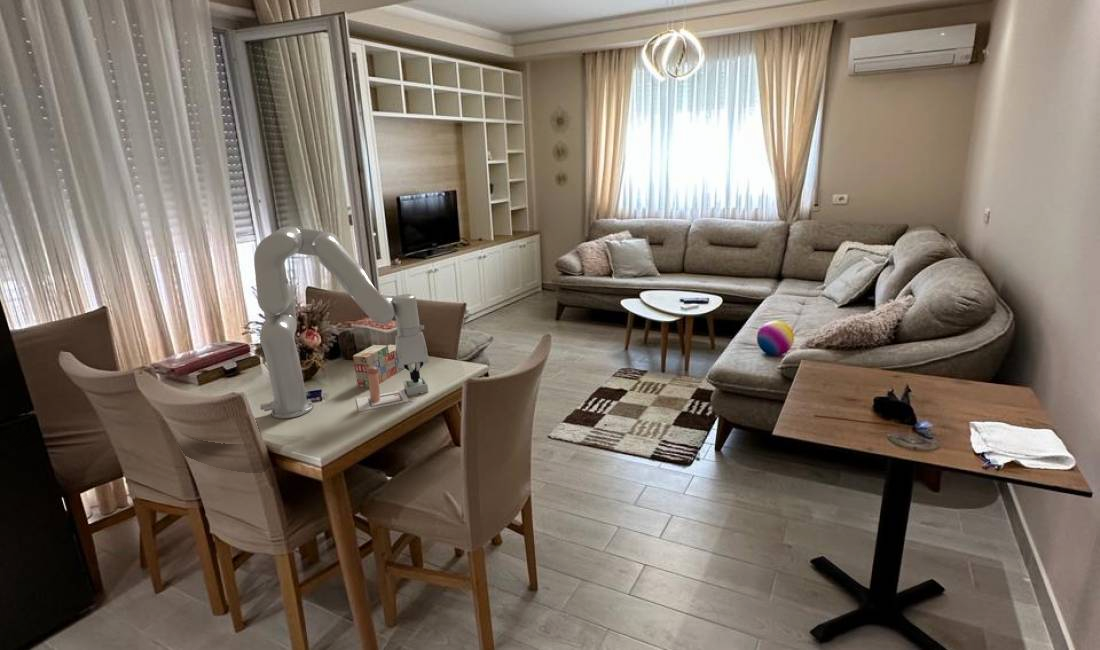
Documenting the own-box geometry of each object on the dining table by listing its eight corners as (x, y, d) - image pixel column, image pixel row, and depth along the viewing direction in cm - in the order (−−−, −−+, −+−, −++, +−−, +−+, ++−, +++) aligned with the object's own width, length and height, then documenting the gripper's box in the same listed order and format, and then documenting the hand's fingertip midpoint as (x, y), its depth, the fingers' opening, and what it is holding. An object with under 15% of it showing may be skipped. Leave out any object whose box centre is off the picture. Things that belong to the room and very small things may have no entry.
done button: (410, 392, 197) (409, 384, 197) (408, 388, 202) (407, 380, 201) (424, 390, 199) (423, 382, 198) (421, 385, 203) (420, 377, 203)
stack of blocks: (392, 366, 226) (388, 336, 223) (406, 367, 224) (402, 337, 220) (357, 387, 207) (352, 355, 203) (372, 389, 205) (366, 356, 201)
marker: (370, 402, 191) (367, 370, 188) (369, 399, 194) (366, 367, 191) (381, 401, 192) (378, 369, 189) (379, 397, 195) (377, 365, 192)
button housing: (407, 396, 196) (406, 387, 195) (404, 389, 202) (403, 381, 202) (428, 392, 199) (427, 384, 198) (424, 385, 205) (423, 377, 204)
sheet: (358, 411, 186) (358, 410, 186) (356, 399, 196) (356, 398, 196) (408, 401, 192) (408, 400, 191) (403, 390, 201) (403, 389, 201)
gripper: (428, 324, 200) (434, 373, 206) (385, 331, 195) (392, 381, 200) (433, 330, 194) (439, 380, 199) (387, 337, 188) (395, 389, 194)
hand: (415, 381), depth 200 cm, fingers closed
